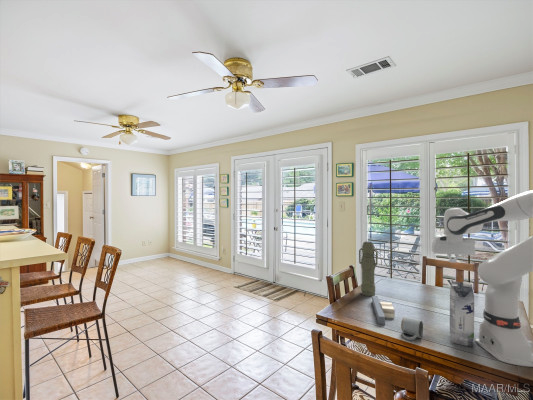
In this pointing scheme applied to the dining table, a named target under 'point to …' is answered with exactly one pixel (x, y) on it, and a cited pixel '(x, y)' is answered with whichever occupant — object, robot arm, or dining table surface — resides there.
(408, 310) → the dining table surface
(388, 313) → the birch block
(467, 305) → the juice carton
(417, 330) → the ceramic mug
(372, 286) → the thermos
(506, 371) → the dining table surface
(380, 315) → the grey rectangular bar
